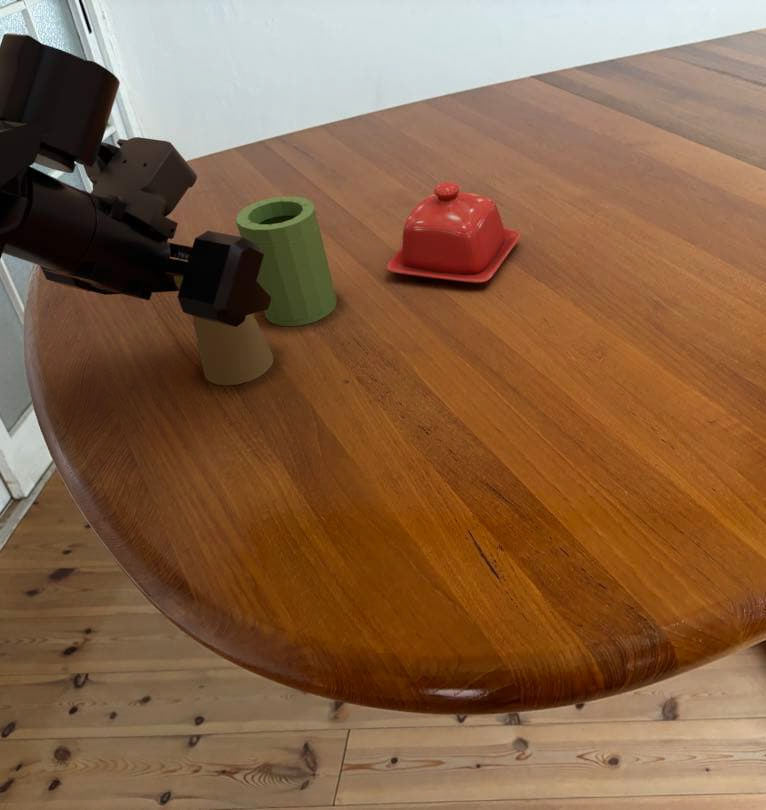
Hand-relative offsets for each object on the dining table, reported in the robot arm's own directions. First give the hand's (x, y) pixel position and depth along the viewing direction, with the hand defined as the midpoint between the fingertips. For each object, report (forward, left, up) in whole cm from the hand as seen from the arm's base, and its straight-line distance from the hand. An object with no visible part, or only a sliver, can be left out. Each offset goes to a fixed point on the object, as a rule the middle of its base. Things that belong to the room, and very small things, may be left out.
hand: (225, 293), depth 69 cm
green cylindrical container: (+5, +8, -7) cm, 11 cm away
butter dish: (+21, +11, -7) cm, 25 cm away
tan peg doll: (-1, -1, -7) cm, 7 cm away
